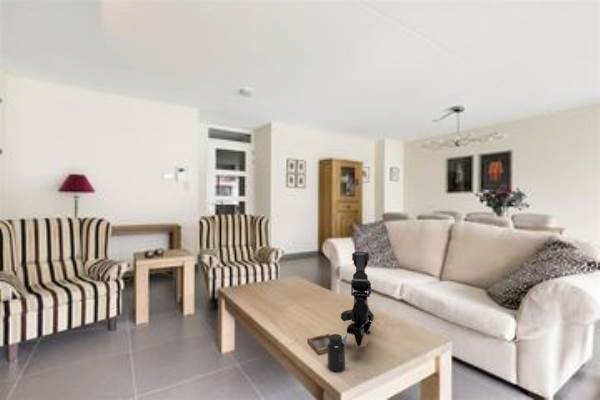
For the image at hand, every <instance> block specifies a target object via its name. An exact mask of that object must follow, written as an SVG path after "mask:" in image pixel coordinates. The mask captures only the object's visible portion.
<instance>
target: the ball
mask: <svg viewBox="0 0 600 400" xmlns="http://www.w3.org/2000/svg"><path fill="white" fill-rule="evenodd" d="M353 336H354V335H353ZM353 340H354V343H355V344H356V345H357V342H356V339H355V336H354V337H353ZM368 343H369V336H368V334H367V335H366V333H364V336H363V339H362V342H361V345H360V346H359V347H361V348H363V347H366V346H367V345H368Z"/></svg>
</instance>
